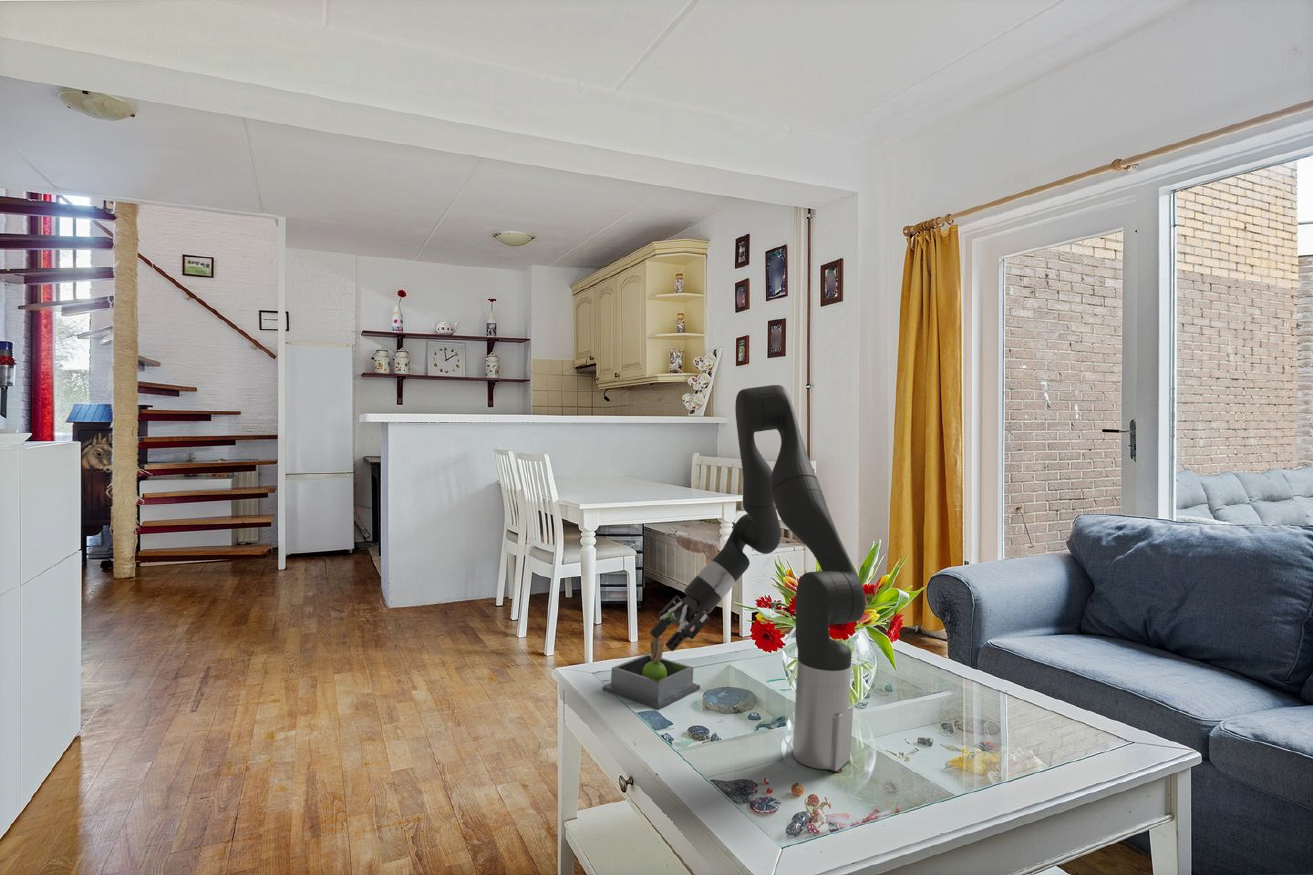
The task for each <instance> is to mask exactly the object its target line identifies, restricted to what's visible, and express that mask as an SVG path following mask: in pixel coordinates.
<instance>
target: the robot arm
mask: <svg viewBox="0 0 1313 875" xmlns="http://www.w3.org/2000/svg"><path fill="white" fill-rule="evenodd" d="M734 411H735V422H736V430H737V431H736V432H737V438H738V446H739V448H738V449H739V453H740V454H739V456H740V461H741V467H742V468H741V469H742V470H741V471H742V507H743V510H744V512H746V514H744V515H742V516H740V518H738V520H737V521H736V523H735V524H734V527H733V528H732V530H731V532H730V534H729V537H728V538H727V540H726V542H725V544H724V545H723V548H722V549H721V550H720V551H719V552H718V553H717V555H715V557H714V558H712V560H711V561H710V562H709V563H708V564H706V566H704V567H703V568H702V569H701V570H700V572H699V573H698V574H696V576H695V577H694V578H693V579H692V580H691V581H690V583H689V584H688V585H687V586H686V587H685V588H684V594H685V597H684V598H682V599H681V598H680V597H679V595H675V596H674V597H673V598H672V599H670V601H669V602H668V603H667V604H666V605H665V606H664V607H663V609H661V610H660V611H659V613H658V615H659V621H658V622H657V623H656V624H655V626H653V628H652V629H651V630H650V631H649V634H650V635H651V636H652V637H653V638H657V639H658V640H659V639H660V638H659V636H662V634H664V632H665V631H666V630H667V629H668V627H669V626H671V625H673V624H679V626H678V629H677V631H675V633H673V635H672V636H671V637H670V638H669V639H668V640H667V641H666V642H665V647H666V648H667V649H668V650H669V651H671V652H674V651H675V650H676V649H677V648H678V646H680V644H681V643H682V642H683V641H684V640H687V639H688V638H689V639H690V640H693V639H694V638H695V637H696V636H697V635H698V633H699V632H701V630H702V629H703V628H704V626H705V625H706V624H707V623H708V621H710V616H708V614H710V613H711V612H712V611H713V610H714V609H715V607H717V605H719V603H720V602H721V601H722V600H723V599H724V597H726V595H728V593H729V592H730V591H731V589H732V588H733V586H734V585H735V583H736V582H738V580H739V579H740V578H741V577H742V575H743V574H744V573H745V572H747V570H748V568H749V567H750V560H749V559H750V558H749V557H748V556H747V555H746V553H744V552H743V551H744V549H745V547H746V545H747V546H748V547H749V548H752V549H753V550H755V552H758V553H761V554H763V555H768V554H771V553H773V552H774V551H775V550H776V549H777V548H778V547H779V544H780V542H781V536H782V531H781V530H782V529H781V525H780V520H781V521H782V523H783V524H784V525H785V527H786V528H788V530H789V531H790V532H791V533H793V534H794V536H795V537H796V538H798V540H800V541H801V542H802V543H803V544H804V545H805V546H806V548H808V549H809V551H810V552H811V553H812V554H813V556H814V558H815V559H816V562H817V563H818V565H819V567H820V570H821V571H820V570H819V571H818V570H817V571H809V572H806V573H804V574H802V575H801V577H800V578H799V579H798V582H797V586H796V590H795V641H796V648H797V664H796V666H797V667H796V681H795V682H796V683H795V684H796V685H795V686H796V687H795V703H794V720H793V740H792V756H793V758H794V759H795V760H796V761H797V762H799V764H802V765H804V766H807V767H810V768H814V769H819V770H831V771H833V772H838V771H839V770H840V769H842V768H843V767H844V766H845V765H846V764H847V763H848V762H849V761H851V754H852V753H851V750H852V731H853V714H854V711H853V710H854V707H853V706H852V705H850V692H851V691H850V690H851V689H850V688H851V671H852V658H853V657H852V655H853V654H852V650H851V648H850V647H849V646H848V645H847V644H845V643H843V642H841V641H838V640H835V639H832V638H831V637H830V625H841V624H849V623H851V624H852V623H854V622H858V621H860V620H861V619H862V617H863V616H864V614H865V610H866V596H865V590H864V588H863V584H862V581H861V579H860V577H859V575H858V572H857V570H856V568H855V566H854V564H853V563H852V561H851V559H850V556H849V555H848V552H847V550H846V548H845V546H844V544H843V542H842V540H841V538H840V536H839V533H838V531H837V529H836V526H835V524H834V523H835V522H834V521H833V518H832V516H831V513H830V511H829V509H828V506H827V503H826V502H827V501H826V499H825V496H824V494H823V490H822V488H821V485H820V482H819V480H818V477H817V475H816V472H815V471H814V468H813V466H812V463H811V461H810V458H809V455H808V452H807V450H806V447H805V444H804V440H803V438H802V433H801V432H800V427H799V423H798V420H797V416H796V413H795V409H794V405H793V403H792V399H791V397H790V394H789V393H788V391H787V389H786V387H784V386H783V385H780V384H771V385H764V386H756V387H748V388H742V389H740V390H739V391H738V393H737V395H736V398H735V410H734ZM772 430H773V431H774V430H776V431H778V433H779V436H780V449H779V452H778V456H777V459H776V461H775V463H774V467H773V469H772V468H771V466H770V465H769V463H768V462H767V461H766V459H765V458H764V457H763V455H762V454H761V453H760V451H759V449H758V447H757V445H756V441H755V433H758V432H765V431H772ZM779 518H780V520H779Z"/></svg>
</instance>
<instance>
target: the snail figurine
mask: <svg viewBox="0 0 1313 875" xmlns="http://www.w3.org/2000/svg"><path fill="white" fill-rule="evenodd" d="M661 639H665V636H664V635H660V636H659V638H658V639H657V638H654V637H653V638H651V640H650V644H649V645H650V655H651V660H652V661H650V662H648V663H647V664H646V665H645V666H644V667H643V670H642V676H644V677H647V678H651V679H654V680H657V681H659V680H661V679H663V678H666V677H667V670H666V668H665V666H664V665H663V664H662V663H661V662H660V661H661V658H663V653H664V644H665V643H664V640H661Z"/></svg>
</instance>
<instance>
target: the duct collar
mask: <svg viewBox="0 0 1313 875" xmlns="http://www.w3.org/2000/svg"><path fill="white" fill-rule="evenodd" d="M650 661H652V660H651V653H646V654H644V655H641V656H639V657H636V658H633V659H630V660H628V661H626V662H623V663H620V664H618V665H616V666H613V667H611V672H610V673H611V678H610V683H607V684H605V685H603V686H602V691H603V692H604V691H605V692H608V693H611V694H613V695H616V696H618V697H621V698H625V699H628V700H631V701H634V702H635V703H636V702H637V703H640V704H642V705H645V706H647V707H650V708H654V709H655V710H656V709H657V710H661V709H663V708H664V707H667V706H669V705H671V704H673V703H675V702H678V701H679V700H682V699H684V698H685V697H687V696H689V695H691V694H693V693H695V692H696V691H699V690H700V689H701V685H700V684H698V683H693V682H694V667H693V666H690V665H687V664H683V663H680V662H677V661H674V660H670V659H667V658H663V657H662V658H661V661H660V662H661V663H662V664H663V665H664V666H665V668H666V670H667V677H666V678H663V679H661V680H659V681H657V680H654V679H651V678H647V677H644V676H642V670H643V667H644V666H645V665H646V664H647V663H648V662H650Z"/></svg>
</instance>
